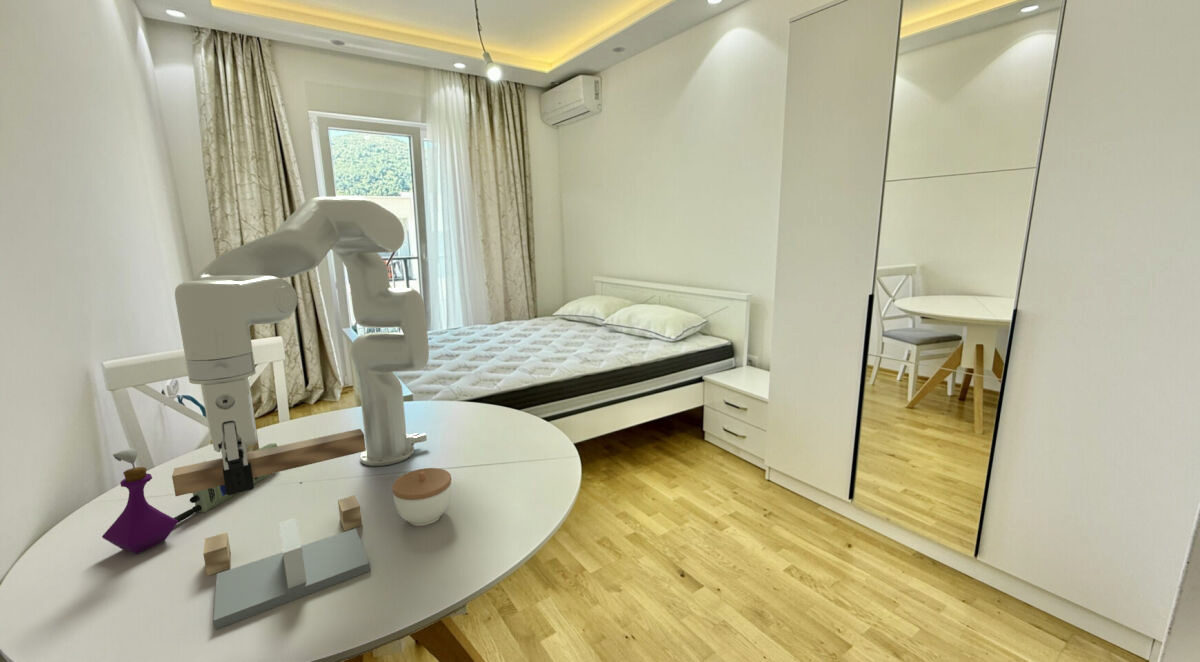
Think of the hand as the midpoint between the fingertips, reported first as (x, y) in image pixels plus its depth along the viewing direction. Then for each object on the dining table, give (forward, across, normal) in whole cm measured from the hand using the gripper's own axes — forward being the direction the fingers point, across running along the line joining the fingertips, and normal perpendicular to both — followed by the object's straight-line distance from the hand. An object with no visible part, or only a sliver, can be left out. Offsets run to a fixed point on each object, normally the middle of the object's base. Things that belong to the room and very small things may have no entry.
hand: (240, 485), depth 71 cm
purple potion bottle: (+18, +26, +16) cm, 35 cm away
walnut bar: (-1, 0, -5) cm, 5 cm away
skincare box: (+17, +57, +1) cm, 60 cm away
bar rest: (+17, +11, -5) cm, 21 cm away
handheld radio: (+18, +39, +4) cm, 43 cm away
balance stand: (+17, 0, -5) cm, 18 cm away
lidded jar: (+18, +4, -27) cm, 33 cm away
